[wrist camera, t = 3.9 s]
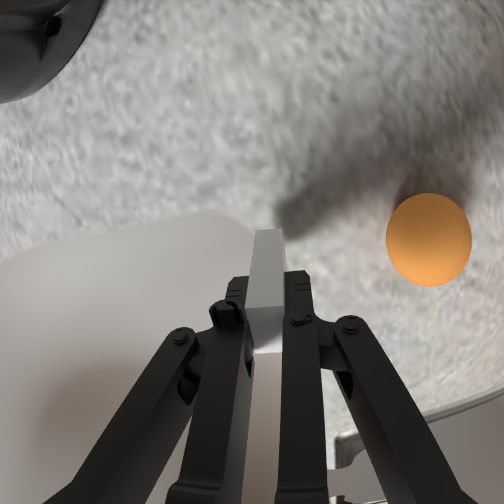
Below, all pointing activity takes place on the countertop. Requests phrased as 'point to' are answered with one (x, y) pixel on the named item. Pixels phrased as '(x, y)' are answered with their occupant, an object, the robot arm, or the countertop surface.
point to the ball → (428, 239)
